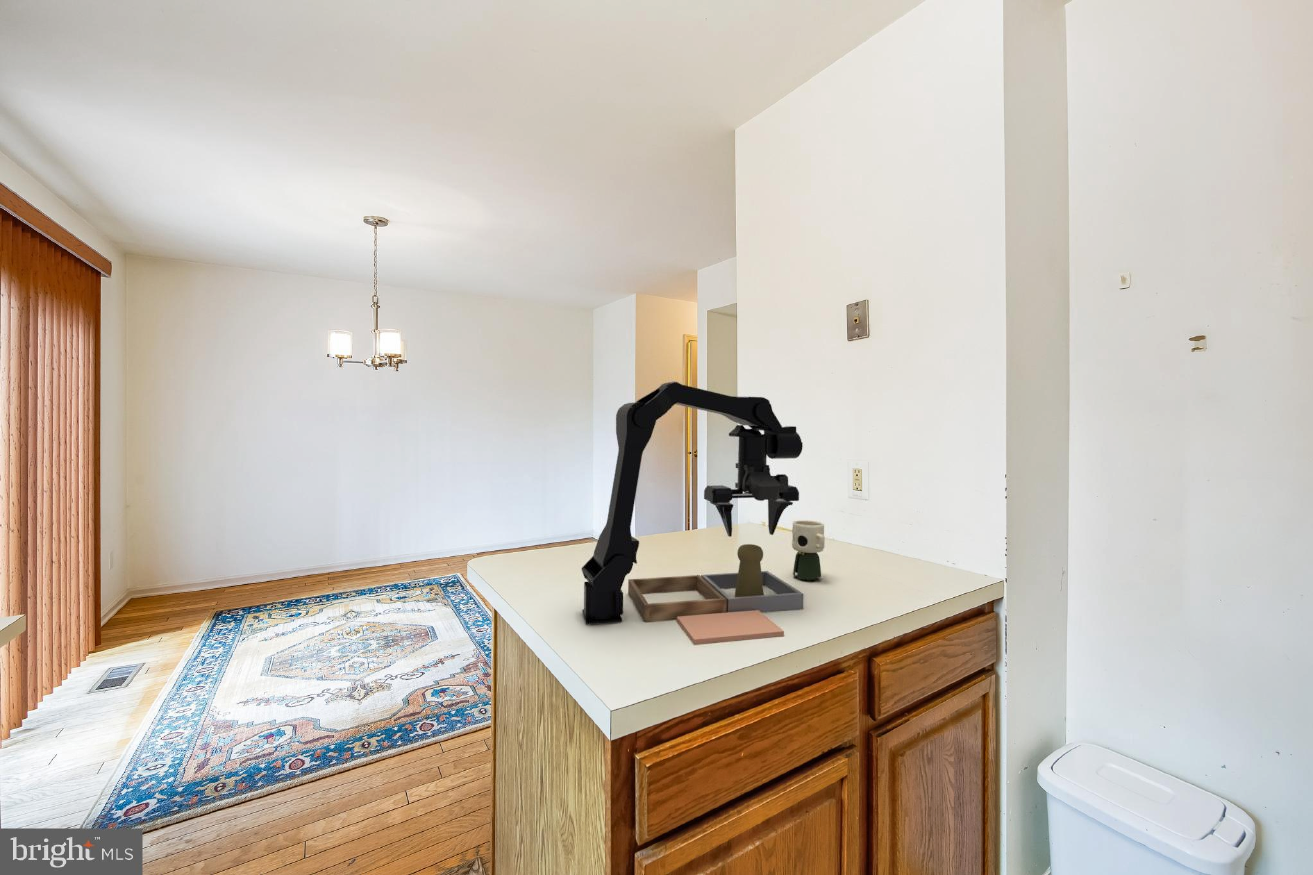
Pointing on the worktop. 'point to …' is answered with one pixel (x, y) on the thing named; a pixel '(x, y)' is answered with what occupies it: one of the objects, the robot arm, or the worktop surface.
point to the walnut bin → (675, 609)
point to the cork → (749, 571)
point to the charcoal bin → (764, 603)
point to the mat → (728, 626)
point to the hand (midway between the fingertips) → (750, 535)
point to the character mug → (807, 548)
